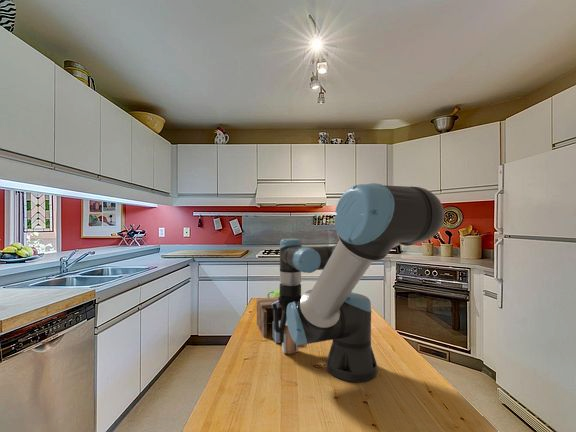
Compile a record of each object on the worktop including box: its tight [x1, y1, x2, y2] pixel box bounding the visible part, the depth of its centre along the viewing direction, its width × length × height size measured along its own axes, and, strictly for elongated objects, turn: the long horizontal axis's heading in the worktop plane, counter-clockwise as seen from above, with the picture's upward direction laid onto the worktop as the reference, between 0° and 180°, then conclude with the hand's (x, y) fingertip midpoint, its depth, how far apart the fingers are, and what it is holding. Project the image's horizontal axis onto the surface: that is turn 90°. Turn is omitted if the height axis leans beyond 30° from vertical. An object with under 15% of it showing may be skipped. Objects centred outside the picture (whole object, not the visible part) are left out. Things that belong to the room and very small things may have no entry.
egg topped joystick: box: [271, 320, 296, 355], centre depth 106 cm, size 16×6×9 cm, turn 17°
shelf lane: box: [256, 297, 287, 338], centre depth 122 cm, size 15×12×11 cm
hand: (289, 350), depth 100 cm, fingers closed on egg topped joystick, 4 cm apart
